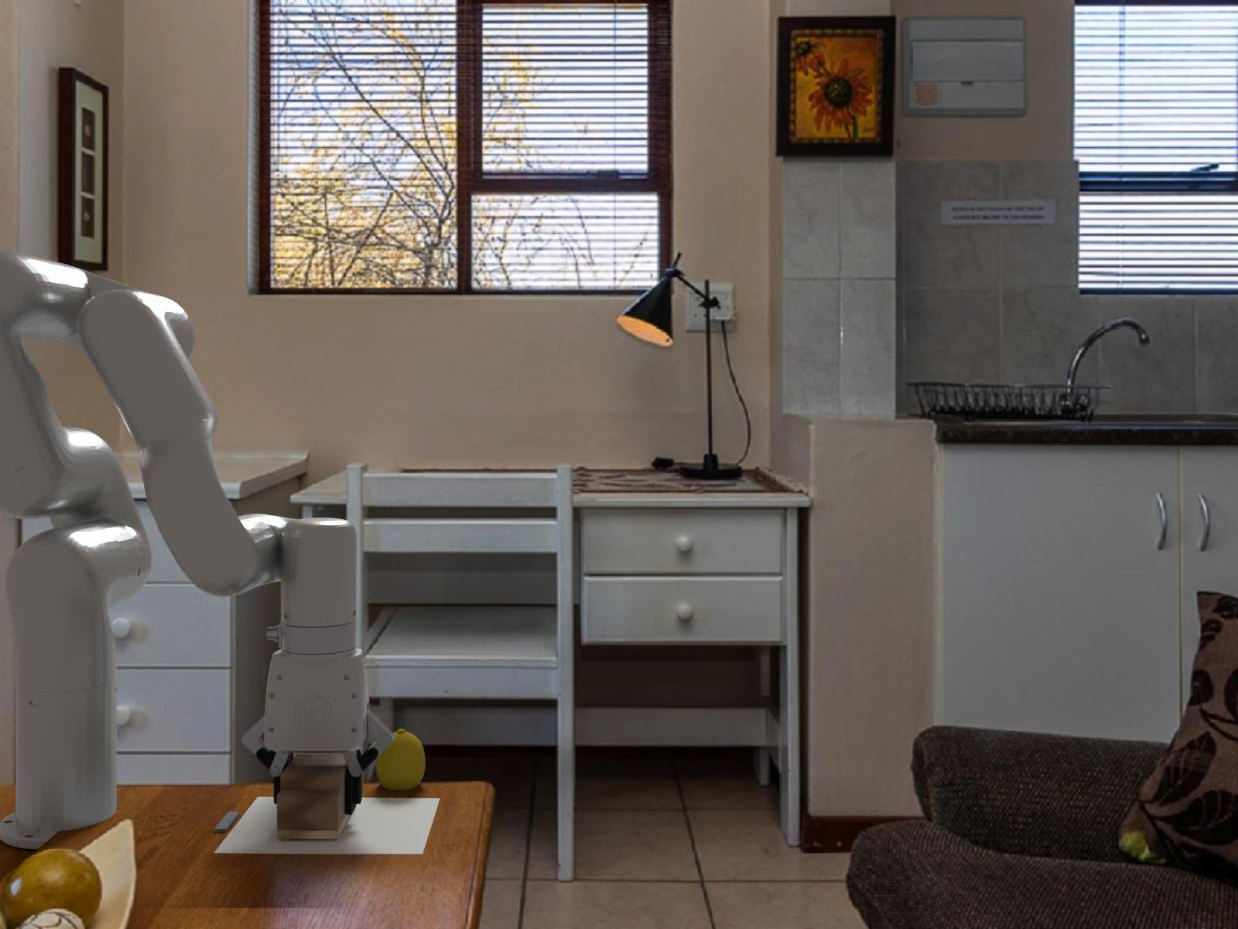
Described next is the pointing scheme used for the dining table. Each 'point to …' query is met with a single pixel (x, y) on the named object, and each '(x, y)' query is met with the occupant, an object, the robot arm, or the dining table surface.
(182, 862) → the dining table surface
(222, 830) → the dark grey block
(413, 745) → the lemon
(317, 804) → the block
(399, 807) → the board
